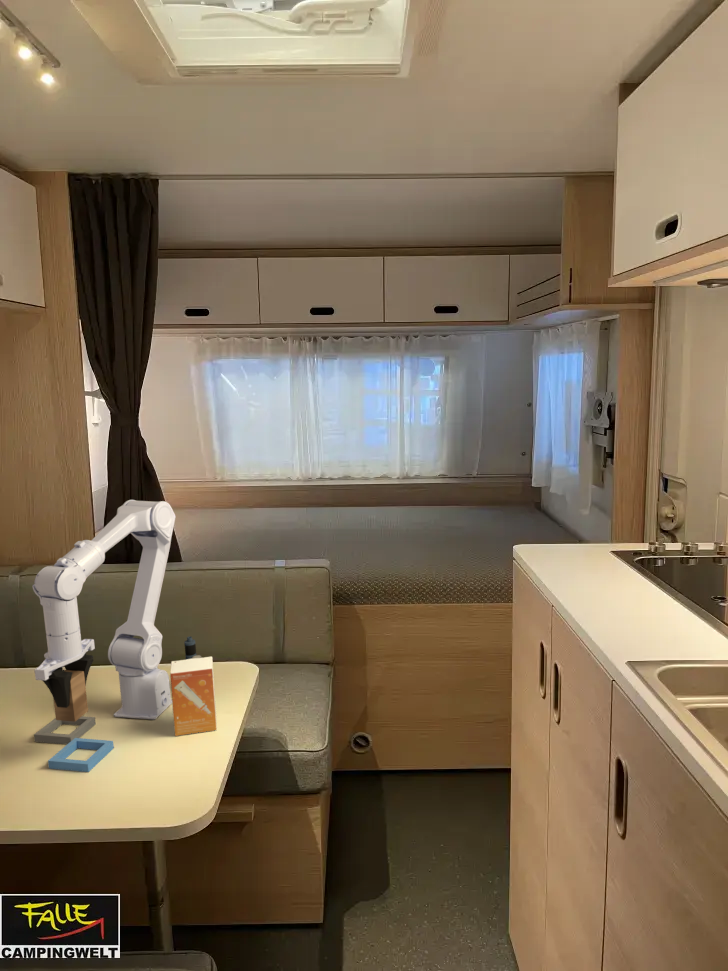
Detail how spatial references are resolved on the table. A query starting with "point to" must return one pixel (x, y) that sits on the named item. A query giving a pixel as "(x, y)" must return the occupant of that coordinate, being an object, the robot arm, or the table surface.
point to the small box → (193, 695)
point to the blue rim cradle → (79, 765)
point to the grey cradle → (49, 737)
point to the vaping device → (190, 649)
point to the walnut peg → (74, 699)
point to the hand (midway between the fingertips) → (70, 700)
